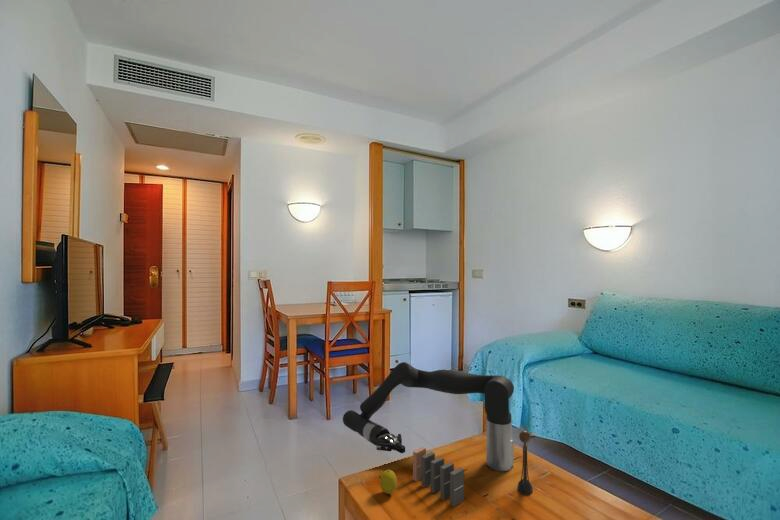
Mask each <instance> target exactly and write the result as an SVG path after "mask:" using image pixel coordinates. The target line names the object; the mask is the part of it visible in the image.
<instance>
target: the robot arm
mask: <svg viewBox="0 0 780 520" xmlns="http://www.w3.org/2000/svg"><path fill="white" fill-rule="evenodd" d="M399 385H402V386H403V387H406V388H421V389H428V390H432V391H435V392H436V391H437V392H440V393H445V394H452V395H467V394H483V395H484V397H483V398H484V412H485V415H486V424H485V425H486V452H485V453H486V466H488V467H489V468H490V469H492V470H494V471H498V472H508V471H510V470H511V469H512V467H514V463H515V462H514V440H513V439H512V413H511V412H510V398H511V397H512V395H513V394H514V392H515V388H514V387H515V386H514V383H513V382H512V381H511V380H510V379H509V378H508V377H506V376H503V375H494V374H493V375H487V374H483V375H482V374H474V373H470V372H464V371H458V370H451V369H436V370H432V371H427V370H422V369H418V368H415V367H413V366H412V365H411V364H409V363H408V362H405V361H404V362H403V361H402V362H400V363H398V364H397V365H396V366H395V367H394V368H393V369H392V370H391V371H390V373H389V374H388V376H386V378H385V379H384V380H383V381H382V383H381V384H380V385H379V386H378V388H377V389H376V390H374V392H372V394H370V395H369V396H368V397H367V398H366V399H364V401H362V402H361V404H360V405H359V409H360V412H361V413H360V414H359V413H358V412H357V411H355V410H353V409H352V410H351V409H350V410H347V411H345V413H344V414H343V415H342V423H343V425H344V426H345V427H346V428H348V429H350V430H351V431H353V432H356V433H357V434H359V435H360V436H361V437H362V438H364V439H366V440H367V441H368V442H370V443H371V444H372V445H374V446H375V447H376V450H377V451H384V452H392V451H396V452H398V453H400V454H404V453H406V446H404V444H402V443H403V440H402V434H401V433H399V434H397V435H395V434H394V433H393V434H392V433H391V432H390V431H389V430H388V429H387V427H385V426H382V425H381V424H378V423H377V422H374V421H372V420H371V418H372V416H373V415H374V414H375V413H377V412H378V411H379V410H380V409H381V408H382V407H383V406H384V405H385V403H386V401H387V400H388V397H389V395H390V394H391V392H392V391H393V390H394V389H395V388H396V387H398V386H399Z"/></svg>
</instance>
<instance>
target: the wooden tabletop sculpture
mask: <svg viewBox="0 0 780 520" xmlns="http://www.w3.org/2000/svg"><path fill="white" fill-rule="evenodd" d="M518 438H519V440H520V442H521V443H523V444H522V470H521V477H520V480H519V481H518V483H517V490H518V491H519V492H520V493H521V494H524V495H532V494H533V492H534V491H533V486H532V483H531V482H530V478H529V469H528V468H529V467H528V444H527V443H529V442H530V440H531V439H535V438H536V435H535V434H530V432H529V431H528V430H522V431H520V432H519V436H518Z"/></svg>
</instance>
